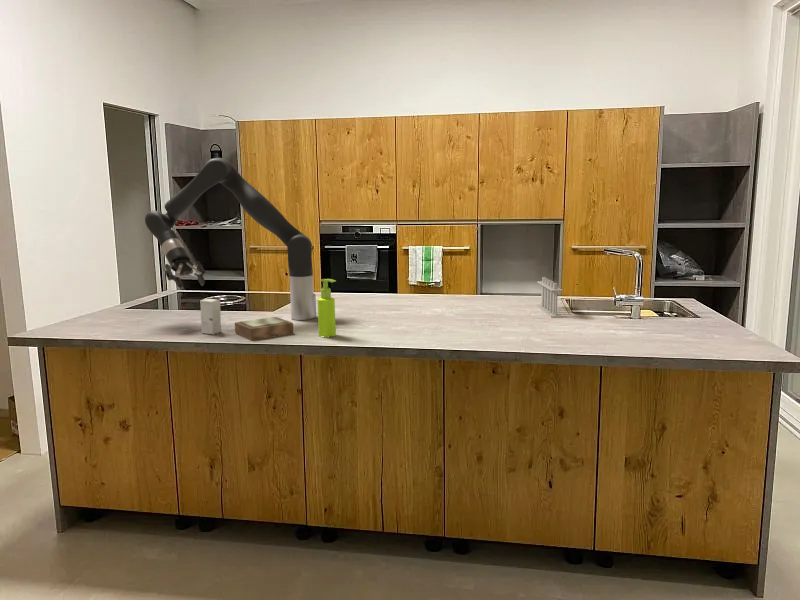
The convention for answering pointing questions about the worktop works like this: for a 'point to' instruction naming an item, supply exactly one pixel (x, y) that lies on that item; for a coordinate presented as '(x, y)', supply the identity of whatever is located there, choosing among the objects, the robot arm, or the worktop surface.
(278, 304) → the worktop surface
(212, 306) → the skincare box
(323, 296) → the soap dispenser
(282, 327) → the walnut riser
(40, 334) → the worktop surface
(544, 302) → the test tube rack
